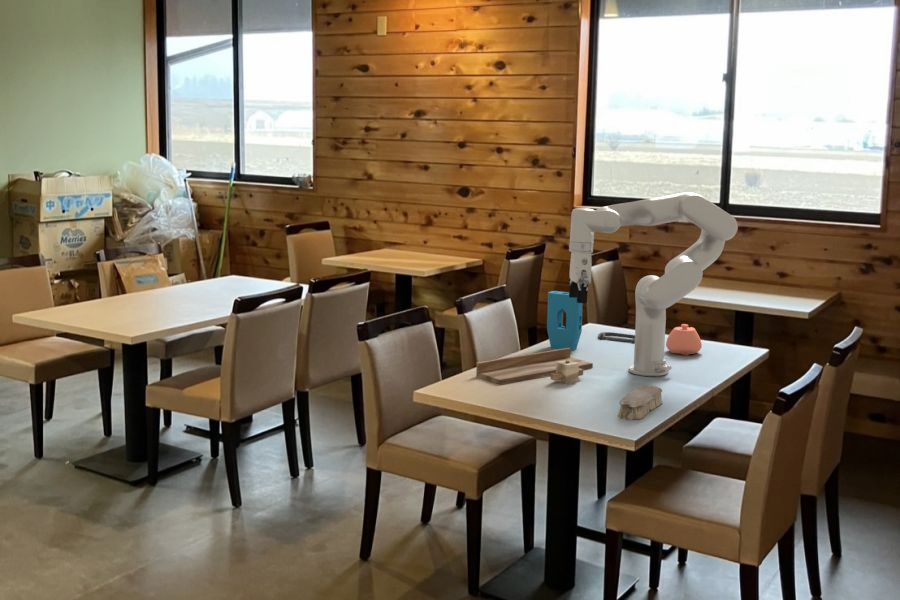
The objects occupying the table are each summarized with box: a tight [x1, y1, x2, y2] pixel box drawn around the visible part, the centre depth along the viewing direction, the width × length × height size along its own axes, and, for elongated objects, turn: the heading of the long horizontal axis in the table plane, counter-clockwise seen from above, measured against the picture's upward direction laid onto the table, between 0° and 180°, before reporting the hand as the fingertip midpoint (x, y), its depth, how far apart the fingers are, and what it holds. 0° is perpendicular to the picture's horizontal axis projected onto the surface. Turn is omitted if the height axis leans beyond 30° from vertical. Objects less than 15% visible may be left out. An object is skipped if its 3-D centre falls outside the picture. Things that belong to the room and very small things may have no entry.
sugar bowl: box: [665, 323, 703, 357], centre depth 346 cm, size 12×14×10 cm
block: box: [546, 290, 584, 351], centre depth 350 cm, size 12×5×20 cm, turn 59°
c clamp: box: [597, 331, 635, 344], centre depth 366 cm, size 20×17×3 cm
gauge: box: [550, 360, 584, 385], centre depth 306 cm, size 5×12×7 cm, turn 125°
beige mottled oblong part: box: [617, 384, 663, 421], centre depth 276 cm, size 24×8×5 cm, turn 151°
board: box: [476, 348, 594, 385], centre depth 317 cm, size 12×39×4 cm, turn 125°
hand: (577, 300), depth 313 cm, fingers open, 9 cm apart
